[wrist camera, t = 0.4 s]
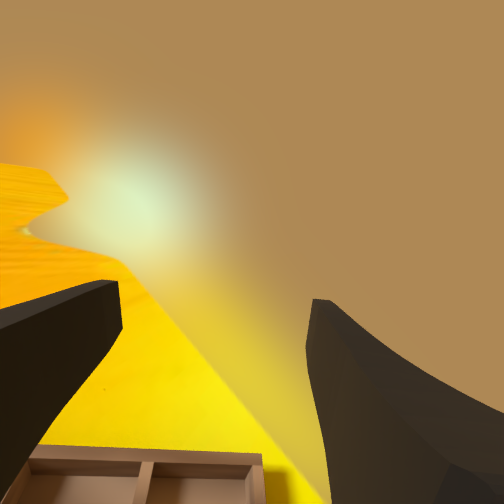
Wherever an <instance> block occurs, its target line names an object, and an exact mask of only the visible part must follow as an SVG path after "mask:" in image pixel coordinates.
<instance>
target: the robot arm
mask: <svg viewBox="0 0 504 504" xmlns="http://www.w3.org/2000/svg"><path fill="white" fill-rule="evenodd" d="M122 329H123V326H122V316H121V307H120V297H119V287H118V281H112V280H97V281H92V282H89V283H85V284H81V285H78V286H75V287H71V288H68V289H65V290H62V291H59V292H56V293H53V294H49V295H46V296H43V297H40V298H37V299H33V300H30V301H27V302H23V303H20V304H16V305H13V306H10V307H6V308H3V309H0V503H1V501H2V500H3V498H4V496H5V495H6V493H7V491H8V490H9V488H10V487H11V485H12V483H13V482H14V480H15V479H16V477H17V476H18V474H19V472H20V471H21V469H22V468H23V466H24V465H25V463H26V461H27V460H28V458H29V457H30V455H31V454H32V452H33V451H34V449H35V448H36V446H37V445H38V443H39V442H40V440H41V439H42V437H43V436H44V434H45V433H46V431H47V430H48V428H49V427H50V425H51V424H52V422H53V421H54V420H55V418H56V417H57V416H58V414H59V413H60V412H61V410H62V409H63V408H64V406H65V405H66V404H67V403H68V402H69V400H70V399H71V398H72V397H73V395H74V394H75V393H76V392H77V391H78V389H79V388H80V387H81V386H82V384H83V383H84V382H85V381H86V379H87V378H88V377H89V376H90V375H91V373H92V372H93V371H94V370H95V368H96V367H97V366H98V365H99V363H100V362H101V361H102V360H103V358H104V357H105V356H106V355H107V353H108V352H109V350H110V349H111V347H112V346H113V344H114V343H115V341H116V339H117V337H118V336H119V334H120V332H121V331H122ZM306 358H307V367H308V374H309V379H310V384H311V388H312V392H313V397H314V401H315V406H316V410H317V415H318V419H319V423H320V428H321V432H322V437H323V442H324V447H325V452H326V460H327V468H328V476H329V483H330V490H331V499H332V504H504V413H502V412H500V411H497V410H495V409H493V408H491V407H489V406H487V405H485V404H483V403H481V402H479V401H477V400H475V399H473V398H471V397H469V396H467V395H465V394H464V393H462V392H460V391H458V390H456V389H454V388H453V387H451V386H449V385H447V384H445V383H443V382H442V381H440V380H438V379H436V378H435V377H433V376H431V375H429V374H428V373H426V372H424V371H423V370H421V369H420V368H418V367H417V366H415V365H413V364H412V363H410V362H409V361H407V360H406V359H404V358H402V357H401V356H400V355H398V354H396V353H395V352H394V351H392V350H391V349H390V348H388V347H387V346H386V345H384V344H383V343H382V342H380V341H379V340H378V339H376V338H375V337H374V336H372V335H371V334H370V333H369V332H367V331H366V330H365V329H364V328H362V327H361V326H360V325H359V324H358V323H356V322H355V321H354V320H353V319H352V318H351V317H350V316H348V315H347V314H346V313H345V312H344V311H343V310H341V309H340V308H339V307H338V306H337V305H336V304H334V303H333V302H332V301H330V300H321V299H313V302H312V308H311V315H310V321H309V328H308V334H307V340H306Z"/></svg>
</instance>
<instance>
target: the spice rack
mask: <svg viewBox="0 0 504 504" xmlns="http://www.w3.org/2000/svg"><path fill="white" fill-rule="evenodd" d="M0 504H266V496H265V485H264V474H263V464H262V454H258V453H234V452H210V451H186V450H162V449H138V448H114V447H90V446H66V445H41V444H38V445H37V446H36V448H35V449H34V451H33V452H32V454H31V455H30V457H29V458H28V460H27V461H26V463H25V465H24V466H23V468H22V469H21V471H20V472H19V474H18V476H17V477H16V479H15V480H14V482H13V483H12V485H11V487H10V488H9V490H8V491H7V493H6V495H5V496H4V498H3V500H2V501H1V503H0Z"/></svg>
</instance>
